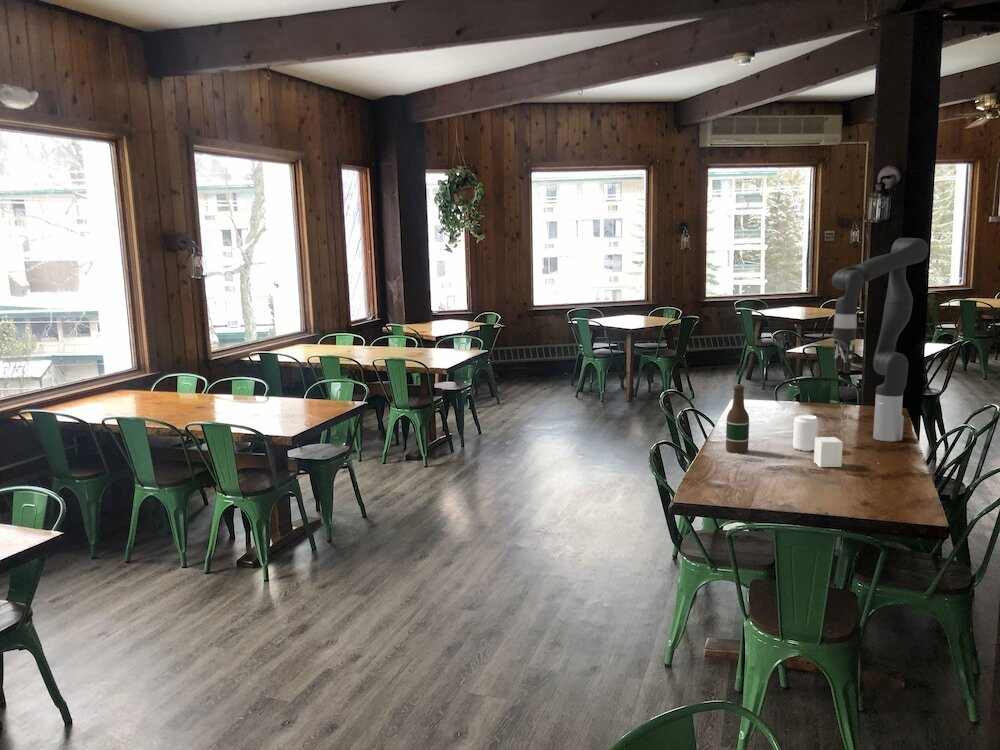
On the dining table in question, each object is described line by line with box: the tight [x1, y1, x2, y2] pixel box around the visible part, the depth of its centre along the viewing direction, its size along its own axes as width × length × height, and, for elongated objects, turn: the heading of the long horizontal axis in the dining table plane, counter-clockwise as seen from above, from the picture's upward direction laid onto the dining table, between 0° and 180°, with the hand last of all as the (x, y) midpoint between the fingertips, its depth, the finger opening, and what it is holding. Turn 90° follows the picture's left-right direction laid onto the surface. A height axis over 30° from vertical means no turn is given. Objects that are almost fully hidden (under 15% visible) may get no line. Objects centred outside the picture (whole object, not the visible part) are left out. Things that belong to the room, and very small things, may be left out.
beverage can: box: [792, 414, 819, 452], centre depth 293 cm, size 8×8×12 cm
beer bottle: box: [725, 385, 750, 454], centre depth 290 cm, size 8×8×24 cm
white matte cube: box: [813, 436, 844, 468], centre depth 273 cm, size 7×7×9 cm
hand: (842, 371), depth 292 cm, fingers open, 8 cm apart
